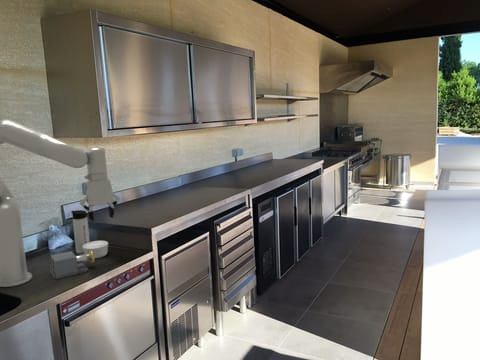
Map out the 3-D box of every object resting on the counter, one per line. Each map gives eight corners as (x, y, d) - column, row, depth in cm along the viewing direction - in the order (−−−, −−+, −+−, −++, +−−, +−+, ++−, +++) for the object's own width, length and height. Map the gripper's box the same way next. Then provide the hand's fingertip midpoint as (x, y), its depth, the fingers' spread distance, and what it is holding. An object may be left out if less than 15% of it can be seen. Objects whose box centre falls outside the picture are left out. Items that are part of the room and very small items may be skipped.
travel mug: (76, 250, 195) (72, 209, 192) (91, 249, 197) (87, 208, 193) (74, 255, 189) (69, 212, 186) (89, 253, 190) (85, 211, 187)
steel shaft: (66, 270, 166) (64, 258, 165) (63, 266, 170) (62, 254, 169) (95, 263, 172) (94, 252, 171) (92, 260, 176) (90, 248, 175)
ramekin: (92, 261, 181) (91, 249, 180) (78, 256, 187) (77, 245, 187) (114, 254, 190) (113, 242, 189) (99, 249, 196) (98, 239, 195)
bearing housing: (54, 279, 162) (52, 262, 161) (50, 272, 169) (48, 255, 168) (88, 271, 169) (86, 254, 168) (83, 265, 176) (81, 249, 175)
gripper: (77, 180, 163) (82, 224, 166) (121, 175, 173) (125, 216, 175) (73, 178, 169) (78, 220, 172) (116, 173, 179) (119, 213, 182)
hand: (101, 218), depth 174 cm, fingers open, 7 cm apart
